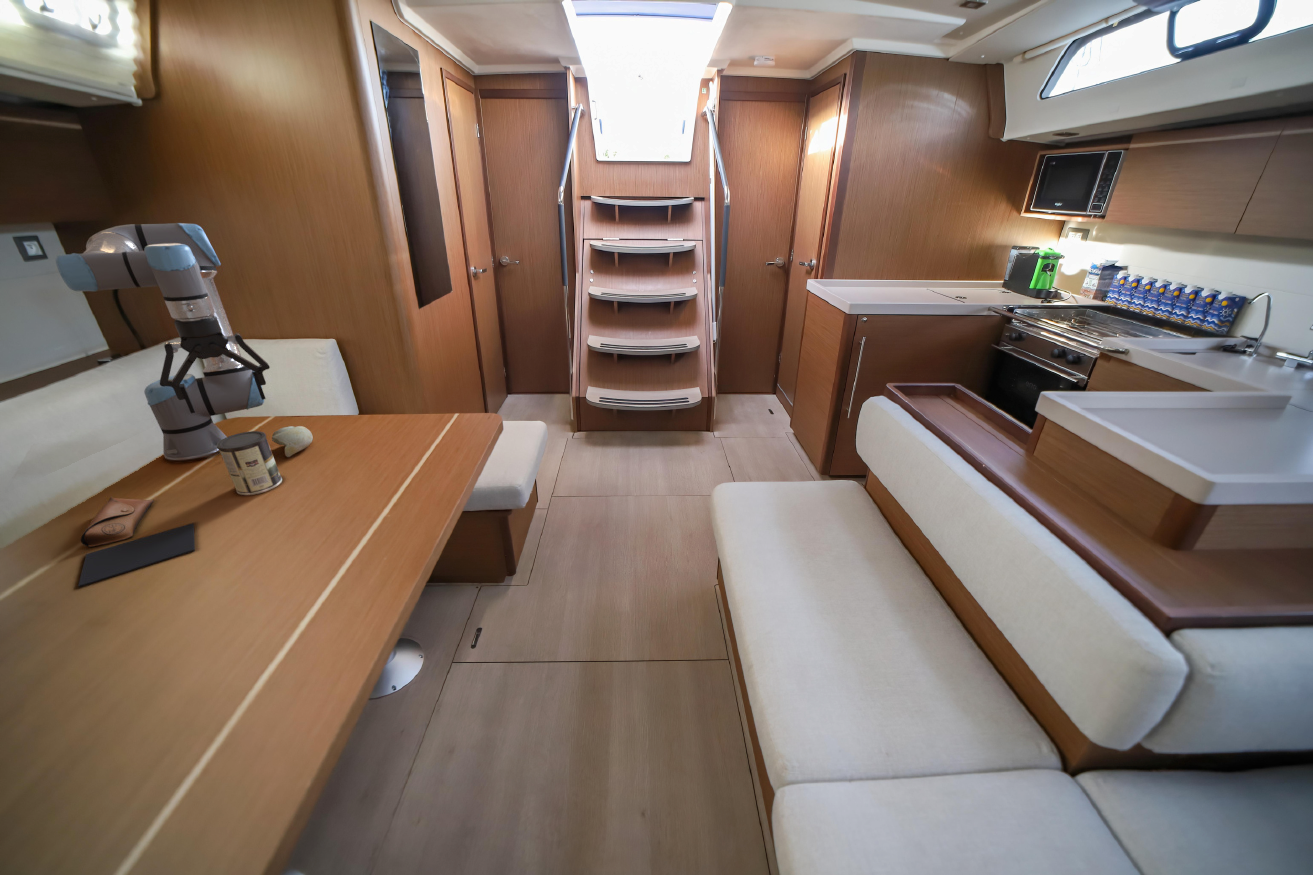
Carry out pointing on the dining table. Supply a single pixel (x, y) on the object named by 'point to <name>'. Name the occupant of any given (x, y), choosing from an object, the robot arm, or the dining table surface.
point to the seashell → (293, 439)
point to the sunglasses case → (115, 521)
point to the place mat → (137, 554)
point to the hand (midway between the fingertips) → (229, 404)
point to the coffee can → (250, 462)
